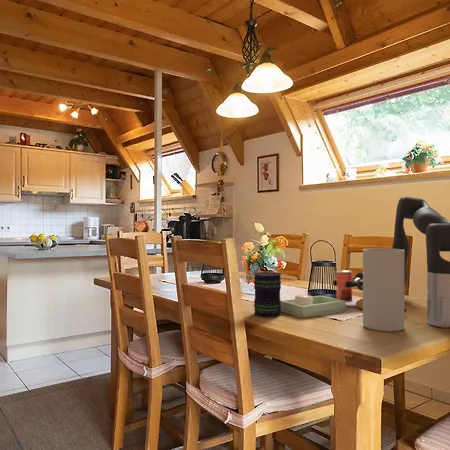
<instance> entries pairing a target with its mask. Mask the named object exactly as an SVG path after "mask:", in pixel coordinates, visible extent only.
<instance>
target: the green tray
mask: <svg viewBox="0 0 450 450" xmlns="http://www.w3.org/2000/svg"><path fill="white" fill-rule="evenodd" d="M312 297H313V303H312V305H307V306H301V305H297V304H295V298H291V299H285V300H281V308H280V309H281V311H280V313H283V314H287V315H291V316H295V317H298V318H301V319H307V318H311V317H319V316H323V315H324V316H325V314H326V315H331V313H332V314H337V313H336V312H338V313H343V312H342V311H344V312H346V302H345V301H344V300H340V299H337V298H334V297H330V296H325V295H315V296H312Z"/></svg>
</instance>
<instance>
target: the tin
mask: <svg viewBox="0 0 450 450" xmlns="http://www.w3.org/2000/svg"><path fill="white" fill-rule="evenodd" d="M335 272H336V275H335V276H336V278H335V280H337V286H336V299H340V300H344V301H345V303H352V302H353V287H350V288H346V284H345V283H346V282H351V281H352V277H353V270H345V269H343V270H336V271H335Z"/></svg>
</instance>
